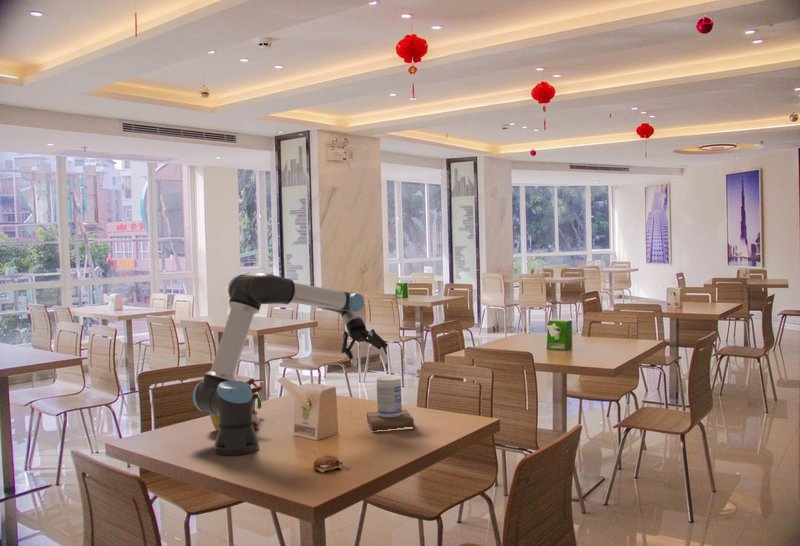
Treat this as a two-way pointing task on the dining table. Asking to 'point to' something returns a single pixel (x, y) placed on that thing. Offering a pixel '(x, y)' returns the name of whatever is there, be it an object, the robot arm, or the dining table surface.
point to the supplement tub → (389, 396)
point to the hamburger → (327, 463)
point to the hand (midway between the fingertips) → (371, 363)
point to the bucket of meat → (255, 418)
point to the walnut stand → (389, 421)
